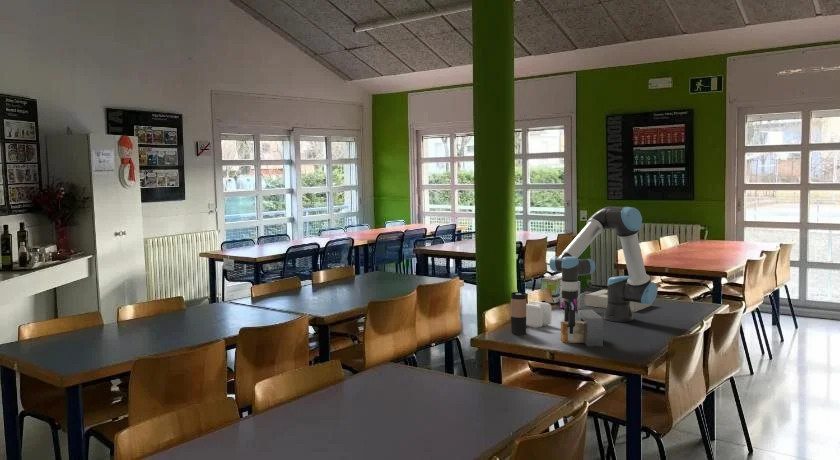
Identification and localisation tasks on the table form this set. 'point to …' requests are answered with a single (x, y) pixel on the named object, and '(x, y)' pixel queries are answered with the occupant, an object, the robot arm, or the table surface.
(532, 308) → the cable organizer
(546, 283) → the tea box
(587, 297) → the box
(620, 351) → the table surface
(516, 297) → the travel mug
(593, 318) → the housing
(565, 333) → the bar
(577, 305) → the candy bar box
